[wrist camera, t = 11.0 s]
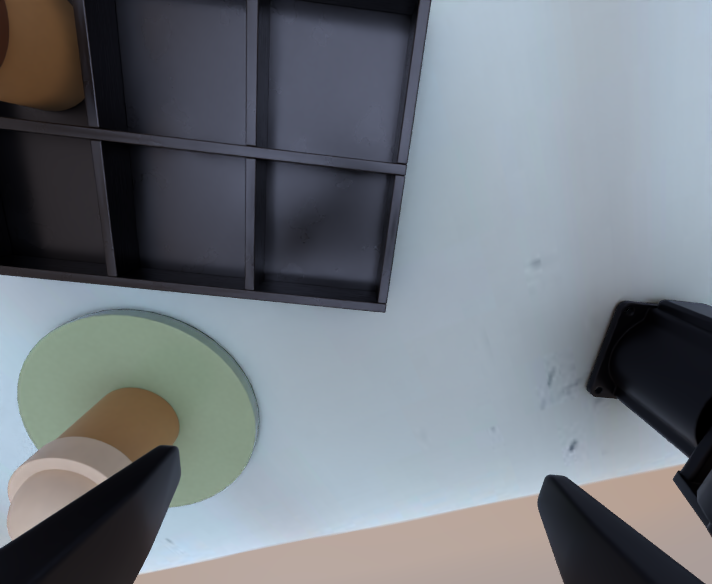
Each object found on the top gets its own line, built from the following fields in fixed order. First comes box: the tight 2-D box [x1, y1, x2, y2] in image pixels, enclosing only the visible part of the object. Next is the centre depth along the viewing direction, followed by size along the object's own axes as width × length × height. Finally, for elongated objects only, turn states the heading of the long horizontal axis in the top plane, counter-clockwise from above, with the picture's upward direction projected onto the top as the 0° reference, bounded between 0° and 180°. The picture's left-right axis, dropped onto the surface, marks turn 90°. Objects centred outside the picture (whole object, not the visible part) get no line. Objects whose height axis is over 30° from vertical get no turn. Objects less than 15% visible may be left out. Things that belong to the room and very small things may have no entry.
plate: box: [17, 310, 259, 507], centre depth 22 cm, size 15×15×1 cm
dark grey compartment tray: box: [0, 0, 431, 313], centre depth 16 cm, size 14×21×2 cm
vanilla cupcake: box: [7, 388, 179, 541], centre depth 18 cm, size 6×6×8 cm
